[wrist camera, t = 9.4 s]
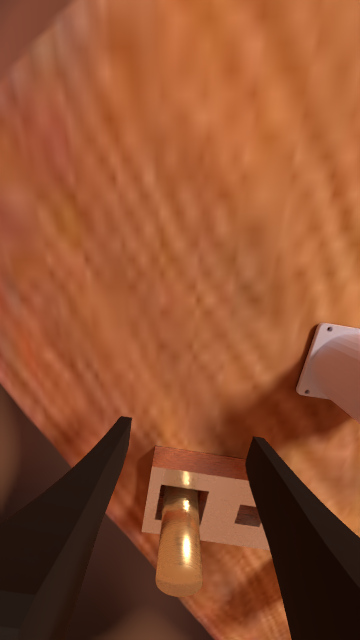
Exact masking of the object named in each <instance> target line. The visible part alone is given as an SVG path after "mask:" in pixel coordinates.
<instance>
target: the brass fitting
mask: <svg viewBox="0 0 360 640" xmlns="http://www.w3.org/2000/svg"><path fill="white" fill-rule="evenodd" d="M156 584H157V586H158V588H159V589H160V590H161V591H162V592H164V593H166V594H168V595H170V596H175V597H186V596H191V595H193V594H195V593H197V592H198V591H199V590H200V589H201V587H202V584H203V580H202V562H201V545H200V527H199V510H198V493H197V490H195V489H189V488H182V487H175V486H168V485H165V489H164V499H163V509H162V520H161V530H160V540H159V550H158V560H157V571H156Z"/></svg>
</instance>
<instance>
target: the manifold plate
mask: <svg viewBox="0 0 360 640" xmlns="http://www.w3.org/2000/svg"><path fill="white" fill-rule="evenodd" d="M245 462H246V459H239V458H233V457H226V456H220V455H213V454H206V453H200V452H193V451H187V450H180V449H173V448H167V447H160V446H155V452H154V458H153V463H152V470H151V476H150V482H149V488H148V494H147V501H146V507H145V513H144V519H143V526H142V532H147V533H154V534H160V530H161V520H162V509H163V499H164V496H160V495H159V493H160V487H161V484H162V485H168V486H175V487H182V488H189V489H195V490H201V493H200V497H199V501H198V510H199V527H200V540H202V541H209V542H216V543H223V544H230V545H237V546H244V547H251V548H258V549H265V550H270V548H269V545H268V541H267V538H266V535H265V532H264V529H263V526H262V523H261V520H260V517H259V514H258V511H257V508H256V505H255V501H254V498H253V495H252V492H251V489H250V485H249V481H248V477H247V472H246V467H245Z"/></svg>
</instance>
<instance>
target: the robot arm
mask: <svg viewBox="0 0 360 640" xmlns="http://www.w3.org/2000/svg"><path fill="white" fill-rule="evenodd" d="M328 327H330V328H329V330H328V331H327V328H328ZM306 390H307V391H306ZM305 391H306V392H305ZM296 392H297V393H298V394H299V395H304V396H310V397H317V398H323V399H329V400H332V401H333V402H334V403H335V404H336V405H338V406H339V407H340V408H341V409H342V410H344V411H345V412H346V413H347V414H348V415H350V416H351V417H352V418H353V419H354V420H356V421H357V422H358V423H359V424H360V329H359V328H353V327H347V326H341V325H335V324H329V323H320V324H319V325H318V327H317V329H316V332H315V335H314V338H313V341H312V344H311V347H310V350H309V353H308V356H307V358H306V361H305V364H304V367H303V370H302V373H301V376H300V379H299V382H298V385H297V388H296ZM131 421H132V418H129V417H123V416H121V417H120V418H119V419H118V420H117V422H116V423H115V424H114V425H113V427H112V428H111V429H110V430H109V431H108V432H107V434H106V435H105V436H104V437H103V438H102V439H101V440H100V441H99V442H98V443H97V445H96V446H95V447H94V448H93V449H92V450H91V451H90V452H89V453H88V454H87V455H86V456H85V457H84V458H83V459H82V460H81V461H80V462H78V463H77V464H76V465H75V466H74V467H73V468H72V469H71V470H70V471H69V472H67V473H66V474H65V475H64V476H63V477H62V478H61V479H59V480H58V481H57V482H56V483H55V484H53V485H52V486H51V487H50V488H48V489H47V490H46V491H45V492H44V493H42V494H41V495H40V496H38V497H37V498H36V499H34V500H33V501H32V502H30V503H29V504H28V505H26V506H25V507H23V508H22V509H21V510H19V511H18V512H16V513H15V514H14V515H12V516H11V517H9V518H8V519H7V520H5V521H4V522H2V523H1V524H0V640H65V639H66V635H67V632H68V629H69V625H70V622H71V619H72V615H73V612H74V608H75V605H76V602H77V598H78V595H79V592H80V589H81V585H82V582H83V579H84V576H85V572H86V569H87V566H88V563H89V559H90V556H91V553H92V549H93V547H94V543H95V540H96V537H97V534H98V531H99V528H100V525H101V522H102V519H103V517H104V514H105V511H106V509H107V506H108V504H109V501H110V498H111V496H112V493H113V491H114V488H115V486H116V483H117V480H118V478H119V475H120V472H121V470H122V467H123V464H124V460H125V457H126V453H127V450H128V446H129V438H130V430H131ZM245 467H246V472H247V477H248V481H249V485H250V489H251V492H252V495H253V498H254V501H255V505H256V508H257V511H258V514H259V517H260V520H261V523H262V526H263V529H264V532H265V535H266V538H267V541H268V545H269V548H270V552H271V555H272V559H273V563H274V567H275V571H276V575H277V579H278V583H279V587H280V591H281V595H282V599H283V604H284V608H285V612H286V616H287V621H288V625H289V630H290V634H291V639H292V640H360V538H359V537H358V536H357V535H356V534H355V533H354V532H353V531H351V530H350V529H349V528H348V527H347V526H346V525H345V524H344V523H343V522H342V521H341V520H340V519H339V518H337V517H336V516H335V515H334V514H333V513H332V512H331V511H330V510H329V509H328V508H327V507H326V506H325V505H324V504H323V503H322V502H321V501H320V500H319V499H318V498H317V497H316V496H315V495H314V494H313V493H312V492H311V491H310V490H309V489H308V488H307V487H306V485H305V484H304V483H303V482H302V481H301V480H300V479H299V478H298V477H297V476H296V475H295V473H294V472H293V471H292V470H291V469H290V468H289V467H288V466H287V464H286V463H285V462H284V461H283V460H282V459H281V457H280V456H279V455H278V454H277V453H276V452H275V451H274V449H273V448H272V447H271V446H270V445H269V444H268V442H267V441H266V440H265V439H264V438H260V437H253V439H252V442H251V446H250V449H249V452H248V456H247V459H246V462H245Z"/></svg>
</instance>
